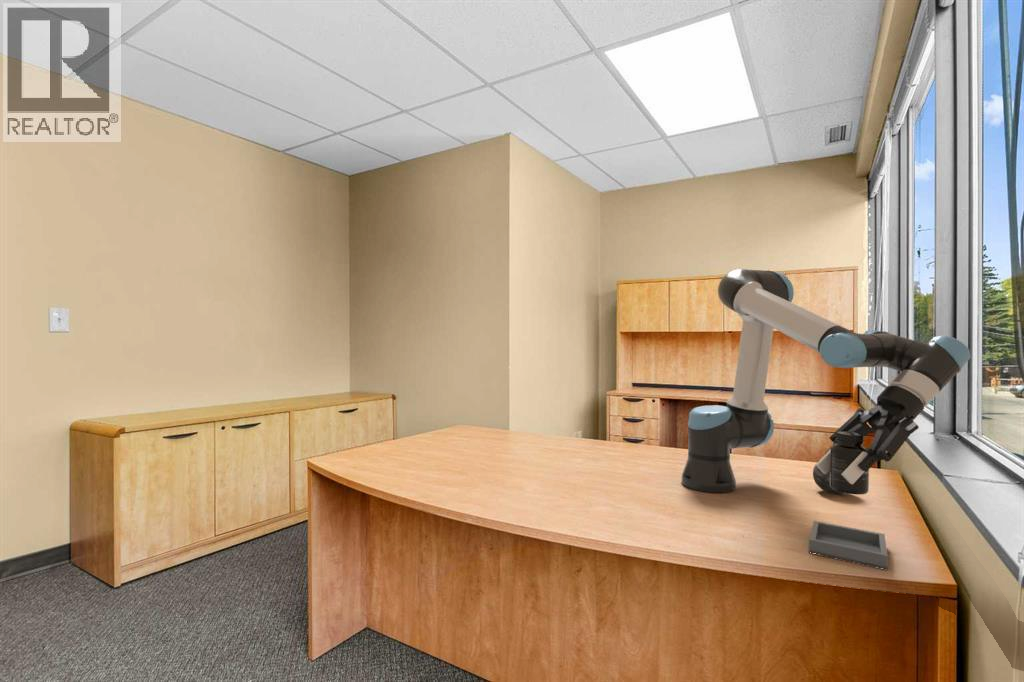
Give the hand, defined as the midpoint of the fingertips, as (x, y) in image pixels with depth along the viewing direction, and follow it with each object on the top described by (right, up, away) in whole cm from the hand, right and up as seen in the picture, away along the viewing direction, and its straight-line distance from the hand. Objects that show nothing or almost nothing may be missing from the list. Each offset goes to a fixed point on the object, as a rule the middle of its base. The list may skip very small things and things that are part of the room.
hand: (833, 474), depth 105 cm
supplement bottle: (+3, -4, 0) cm, 5 cm away
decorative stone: (+25, -16, +39) cm, 49 cm away
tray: (+3, -16, +1) cm, 17 cm away
